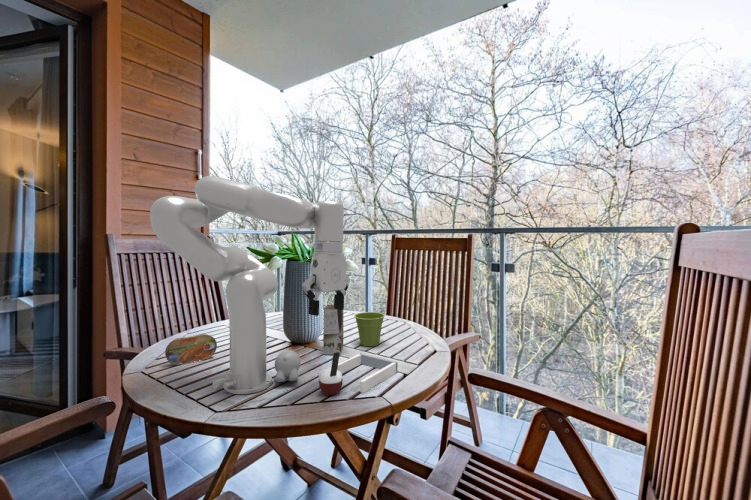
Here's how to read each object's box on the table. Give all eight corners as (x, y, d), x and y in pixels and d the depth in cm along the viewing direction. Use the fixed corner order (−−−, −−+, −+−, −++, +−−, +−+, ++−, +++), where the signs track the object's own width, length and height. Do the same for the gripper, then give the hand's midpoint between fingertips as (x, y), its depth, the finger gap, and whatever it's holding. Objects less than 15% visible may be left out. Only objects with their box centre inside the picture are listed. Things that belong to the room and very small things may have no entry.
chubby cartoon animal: (301, 381, 106) (302, 352, 109) (299, 381, 95) (300, 348, 98) (276, 382, 105) (278, 352, 108) (272, 382, 94) (274, 349, 97)
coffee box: (341, 355, 122) (341, 309, 122) (322, 354, 122) (322, 309, 122) (343, 347, 131) (344, 304, 131) (326, 346, 132) (327, 304, 131)
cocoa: (320, 387, 97) (319, 344, 97) (343, 386, 97) (342, 342, 97) (317, 402, 87) (315, 353, 87) (342, 400, 88) (340, 352, 88)
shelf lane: (363, 393, 93) (363, 381, 92) (323, 380, 100) (323, 370, 100) (397, 371, 107) (397, 362, 107) (360, 362, 115) (360, 353, 115)
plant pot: (360, 338, 143) (360, 311, 142) (388, 341, 139) (388, 313, 138) (349, 346, 132) (349, 317, 131) (379, 350, 128) (379, 319, 127)
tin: (166, 368, 109) (165, 341, 109) (164, 365, 112) (164, 339, 111) (217, 357, 119) (217, 333, 118) (214, 355, 121) (214, 331, 121)
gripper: (315, 249, 84) (313, 319, 85) (359, 248, 98) (357, 309, 99) (294, 247, 88) (292, 315, 89) (339, 247, 102) (337, 305, 103)
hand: (326, 311), depth 94 cm, fingers open, 9 cm apart
